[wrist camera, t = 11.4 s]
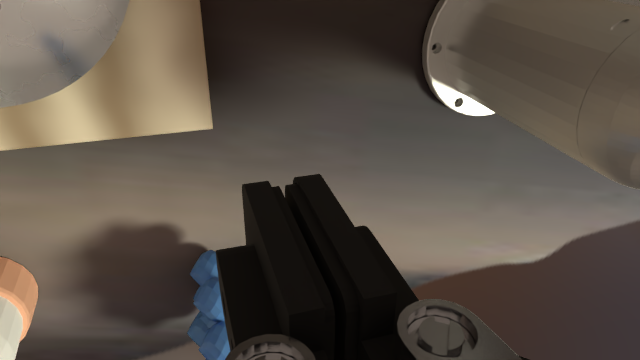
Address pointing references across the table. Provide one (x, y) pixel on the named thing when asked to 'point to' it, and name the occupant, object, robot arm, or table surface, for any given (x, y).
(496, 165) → the table surface
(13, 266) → the pepper shaker
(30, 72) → the flange
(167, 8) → the base board
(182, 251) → the table surface
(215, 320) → the grapes
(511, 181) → the table surface
